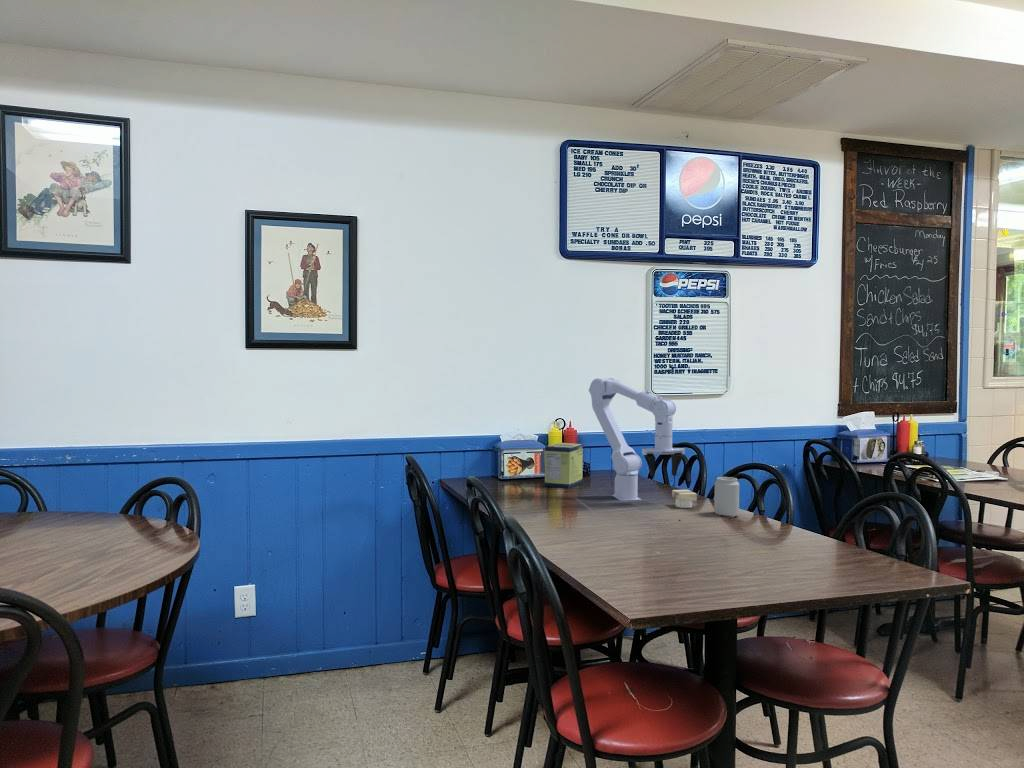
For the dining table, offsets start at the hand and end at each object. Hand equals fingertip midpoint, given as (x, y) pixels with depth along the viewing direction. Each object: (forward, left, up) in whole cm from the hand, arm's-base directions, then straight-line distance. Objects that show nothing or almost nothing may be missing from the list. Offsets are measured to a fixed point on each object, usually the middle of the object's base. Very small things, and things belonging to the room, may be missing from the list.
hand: (663, 475), depth 254 cm
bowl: (+6, +5, -10) cm, 13 cm away
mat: (+4, -6, -10) cm, 13 cm away
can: (+19, +14, -10) cm, 26 cm away
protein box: (-44, -24, -10) cm, 51 cm away
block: (+6, +5, -7) cm, 11 cm away
